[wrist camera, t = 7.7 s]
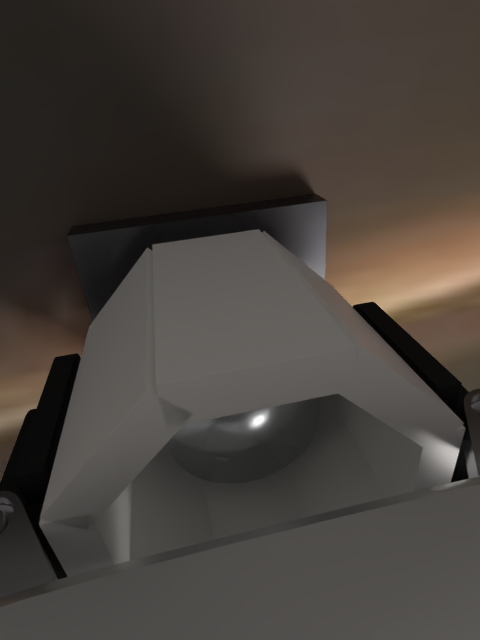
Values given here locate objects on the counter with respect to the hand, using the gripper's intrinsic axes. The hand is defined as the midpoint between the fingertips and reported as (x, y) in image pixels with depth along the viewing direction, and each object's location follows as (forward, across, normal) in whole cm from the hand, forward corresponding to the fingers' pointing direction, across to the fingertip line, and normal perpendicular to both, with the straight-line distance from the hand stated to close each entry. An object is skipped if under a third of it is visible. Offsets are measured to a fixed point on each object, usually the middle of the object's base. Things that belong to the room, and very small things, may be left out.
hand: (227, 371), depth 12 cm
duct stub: (+4, 0, 0) cm, 4 cm away
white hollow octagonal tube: (+1, 0, 0) cm, 1 cm away
